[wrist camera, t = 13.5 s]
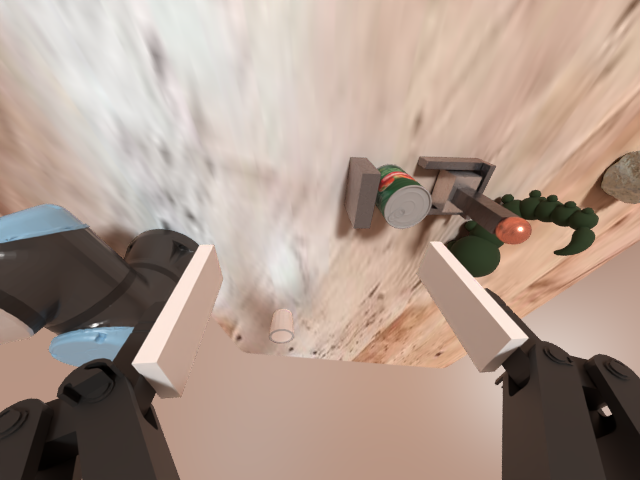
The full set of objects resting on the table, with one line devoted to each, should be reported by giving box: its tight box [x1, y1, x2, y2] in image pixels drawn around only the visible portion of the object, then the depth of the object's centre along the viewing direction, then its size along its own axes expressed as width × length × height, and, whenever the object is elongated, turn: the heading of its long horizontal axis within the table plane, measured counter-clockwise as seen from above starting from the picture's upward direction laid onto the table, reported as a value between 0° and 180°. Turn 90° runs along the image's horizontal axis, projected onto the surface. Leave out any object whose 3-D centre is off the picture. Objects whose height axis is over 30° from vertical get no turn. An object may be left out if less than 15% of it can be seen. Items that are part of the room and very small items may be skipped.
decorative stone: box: [601, 151, 640, 204], centre depth 47 cm, size 13×11×10 cm
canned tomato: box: [375, 164, 432, 229], centre depth 41 cm, size 8×8×11 cm
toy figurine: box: [447, 190, 599, 277], centre depth 47 cm, size 9×19×25 cm
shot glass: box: [269, 309, 294, 343], centre depth 64 cm, size 7×7×7 cm
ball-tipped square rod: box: [431, 169, 532, 244], centre depth 39 cm, size 7×5×20 cm
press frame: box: [345, 157, 496, 228], centre depth 43 cm, size 11×26×9 cm, turn 87°
